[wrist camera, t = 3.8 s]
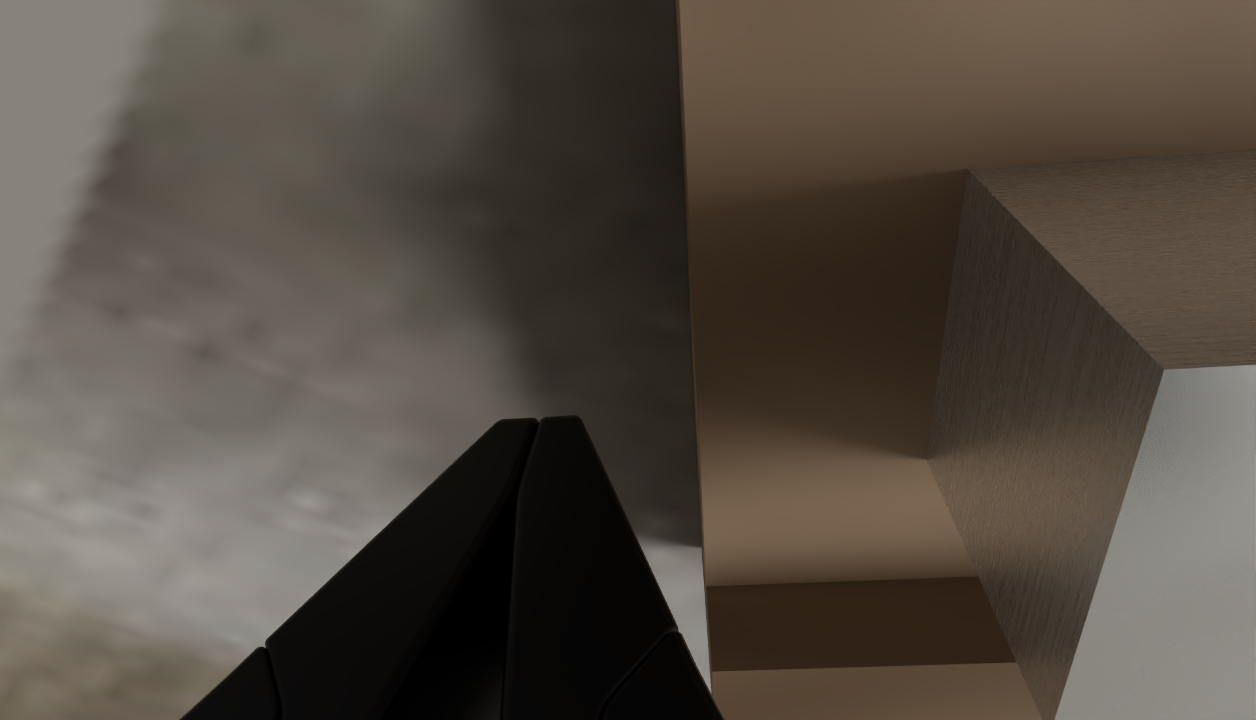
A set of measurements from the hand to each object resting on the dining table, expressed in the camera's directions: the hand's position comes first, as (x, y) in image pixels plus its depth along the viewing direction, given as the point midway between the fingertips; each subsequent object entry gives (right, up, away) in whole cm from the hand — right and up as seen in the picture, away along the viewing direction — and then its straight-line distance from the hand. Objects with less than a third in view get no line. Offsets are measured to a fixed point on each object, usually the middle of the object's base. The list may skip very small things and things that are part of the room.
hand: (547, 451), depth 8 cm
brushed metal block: (+7, +1, +1) cm, 7 cm away
